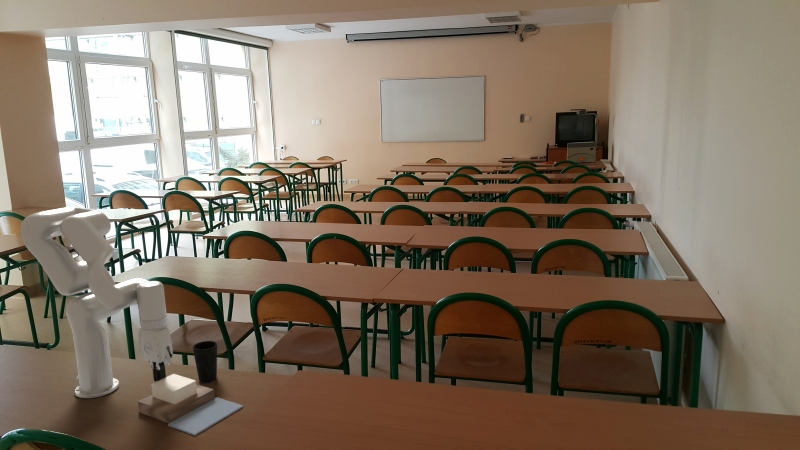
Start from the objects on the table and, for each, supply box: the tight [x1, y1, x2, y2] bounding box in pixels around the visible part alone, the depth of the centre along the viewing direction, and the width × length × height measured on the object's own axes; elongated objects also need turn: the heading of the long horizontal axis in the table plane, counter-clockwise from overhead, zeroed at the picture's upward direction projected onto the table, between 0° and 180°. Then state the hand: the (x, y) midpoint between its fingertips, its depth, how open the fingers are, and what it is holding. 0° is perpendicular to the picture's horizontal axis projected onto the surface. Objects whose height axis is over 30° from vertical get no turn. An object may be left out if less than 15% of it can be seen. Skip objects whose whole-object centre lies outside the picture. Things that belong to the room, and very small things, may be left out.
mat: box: [167, 396, 244, 437], centre depth 168 cm, size 11×18×1 cm, turn 150°
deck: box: [137, 383, 216, 424], centre depth 173 cm, size 14×16×4 cm
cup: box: [192, 340, 218, 384], centre depth 190 cm, size 8×8×12 cm
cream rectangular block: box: [150, 373, 197, 404], centre depth 173 cm, size 10×8×4 cm
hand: (160, 379), depth 176 cm, fingers closed
